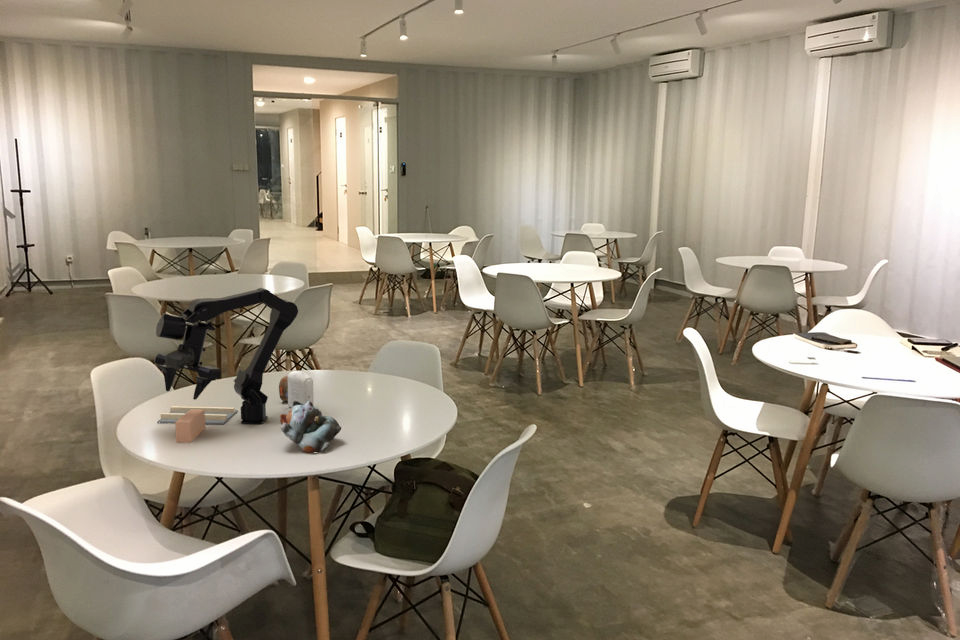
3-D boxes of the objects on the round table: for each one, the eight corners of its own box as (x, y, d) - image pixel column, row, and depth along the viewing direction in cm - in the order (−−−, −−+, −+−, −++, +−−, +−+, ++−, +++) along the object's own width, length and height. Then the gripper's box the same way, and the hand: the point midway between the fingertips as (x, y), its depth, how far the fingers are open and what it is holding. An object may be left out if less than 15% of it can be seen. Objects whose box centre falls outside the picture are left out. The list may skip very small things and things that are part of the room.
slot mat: (237, 411, 242) (237, 405, 242) (223, 424, 229) (223, 418, 229) (175, 410, 242) (174, 403, 242) (157, 423, 230) (156, 416, 229)
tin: (286, 404, 251) (285, 380, 249) (277, 404, 251) (276, 379, 250) (305, 392, 265) (305, 369, 264) (297, 391, 266) (296, 368, 264)
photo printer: (315, 411, 244) (314, 373, 242) (304, 414, 241) (303, 376, 239) (297, 404, 251) (296, 367, 249) (286, 406, 248) (285, 370, 246)
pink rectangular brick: (205, 428, 226) (204, 409, 225) (190, 442, 214) (189, 422, 213) (191, 428, 226) (190, 409, 225) (176, 442, 214) (175, 422, 213)
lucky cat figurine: (317, 457, 204) (290, 413, 202) (289, 464, 212) (263, 422, 209) (350, 427, 216) (325, 385, 213) (323, 434, 223) (298, 394, 221)
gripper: (147, 334, 213) (135, 388, 214) (204, 350, 209) (191, 405, 209) (172, 335, 224) (160, 386, 224) (227, 350, 220) (215, 403, 220)
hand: (181, 395), depth 219 cm, fingers open, 9 cm apart
